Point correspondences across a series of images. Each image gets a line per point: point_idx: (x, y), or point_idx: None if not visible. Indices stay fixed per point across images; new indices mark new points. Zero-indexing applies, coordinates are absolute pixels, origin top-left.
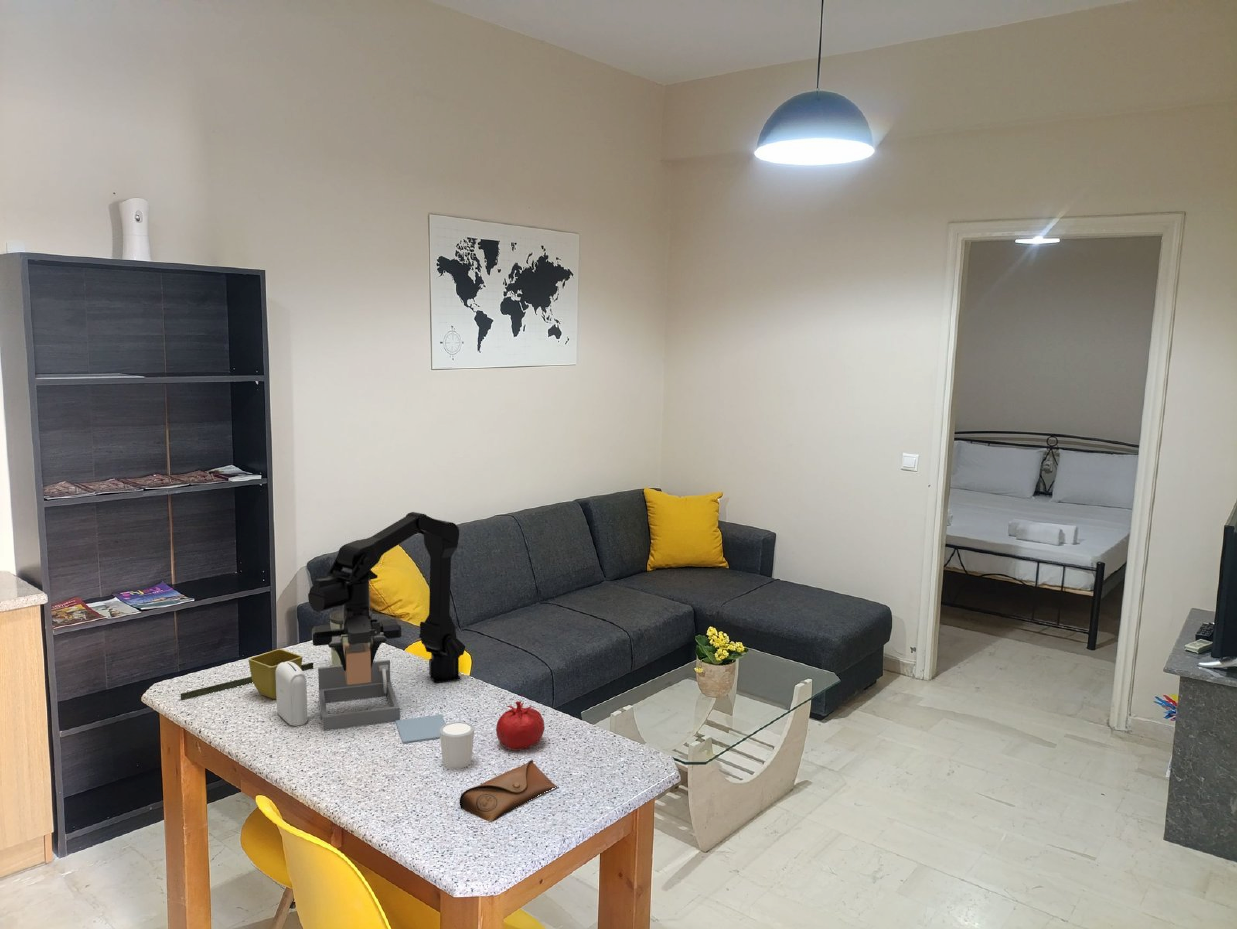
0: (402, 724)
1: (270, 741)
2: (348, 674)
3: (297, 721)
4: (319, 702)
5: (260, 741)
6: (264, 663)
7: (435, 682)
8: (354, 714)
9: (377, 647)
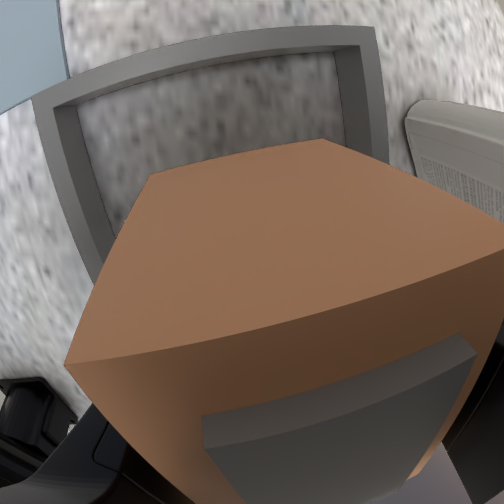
0: (42, 47)
1: (467, 29)
2: (349, 155)
3: (435, 100)
4: None
5: (483, 41)
6: None
7: (40, 378)
8: (238, 33)
9: (51, 470)
